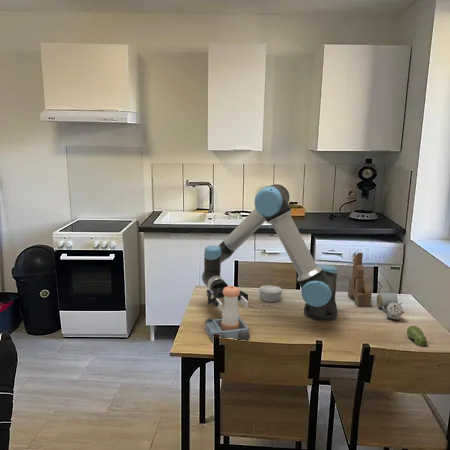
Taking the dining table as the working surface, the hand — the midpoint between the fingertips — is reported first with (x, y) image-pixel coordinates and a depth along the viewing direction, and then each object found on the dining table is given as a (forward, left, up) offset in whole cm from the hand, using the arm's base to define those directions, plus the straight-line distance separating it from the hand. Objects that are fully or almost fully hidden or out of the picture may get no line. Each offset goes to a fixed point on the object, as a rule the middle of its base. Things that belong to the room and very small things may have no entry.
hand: (234, 306), depth 169 cm
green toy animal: (-65, -35, -14) cm, 75 cm away
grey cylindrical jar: (-50, -63, -14) cm, 82 cm away
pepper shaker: (+3, -3, -13) cm, 13 cm away
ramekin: (+3, -47, -14) cm, 49 cm away
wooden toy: (-36, -67, -14) cm, 77 cm away
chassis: (+4, -2, -14) cm, 14 cm away
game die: (-54, -53, -14) cm, 77 cm away
